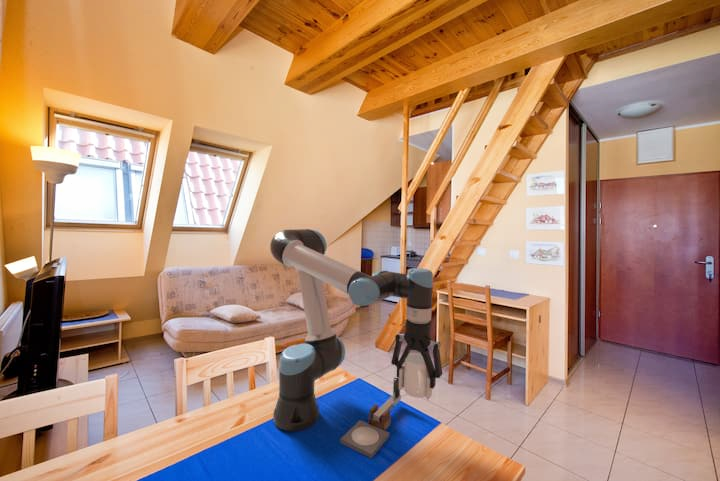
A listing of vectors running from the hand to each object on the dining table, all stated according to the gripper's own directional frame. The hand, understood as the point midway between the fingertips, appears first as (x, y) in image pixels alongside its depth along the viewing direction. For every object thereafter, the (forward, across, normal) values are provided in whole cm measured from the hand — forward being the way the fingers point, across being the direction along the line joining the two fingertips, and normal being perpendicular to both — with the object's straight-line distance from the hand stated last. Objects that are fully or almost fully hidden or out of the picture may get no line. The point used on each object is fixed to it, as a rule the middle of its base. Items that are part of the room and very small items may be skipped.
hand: (414, 392), depth 96 cm
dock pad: (+15, -12, -8) cm, 21 cm away
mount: (+15, -12, 0) cm, 19 cm away
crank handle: (+13, -12, +6) cm, 18 cm away
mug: (+1, +1, 0) cm, 1 cm away
